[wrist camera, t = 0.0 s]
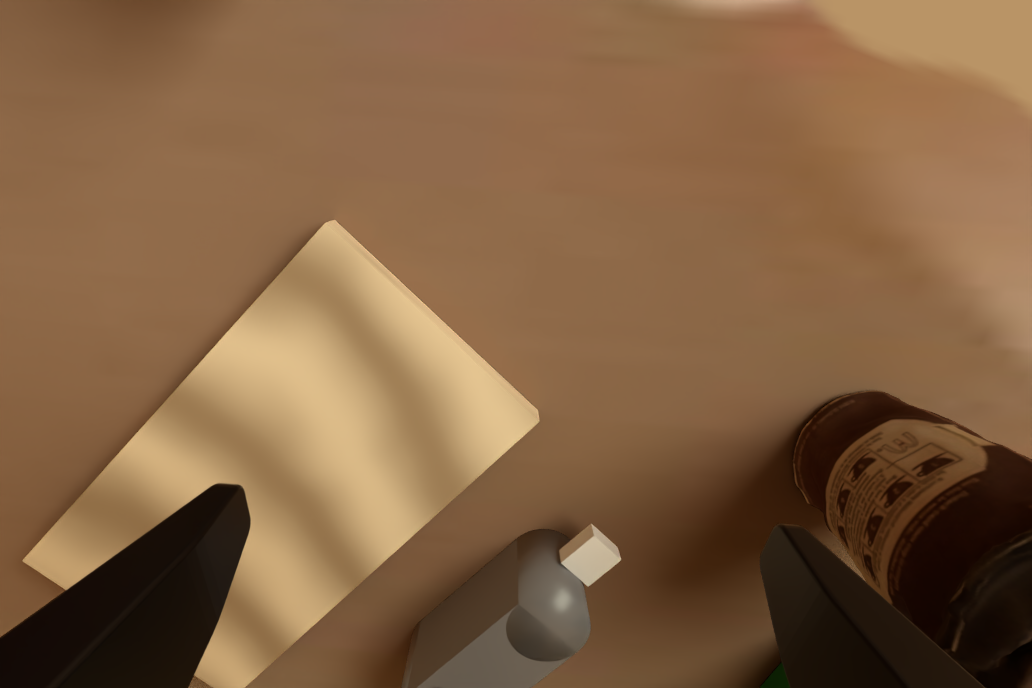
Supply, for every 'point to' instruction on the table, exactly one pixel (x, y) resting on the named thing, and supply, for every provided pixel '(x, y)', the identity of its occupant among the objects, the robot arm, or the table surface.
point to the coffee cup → (930, 524)
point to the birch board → (304, 447)
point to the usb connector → (512, 615)
